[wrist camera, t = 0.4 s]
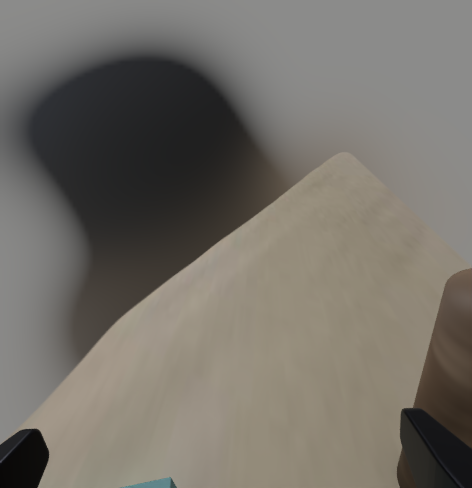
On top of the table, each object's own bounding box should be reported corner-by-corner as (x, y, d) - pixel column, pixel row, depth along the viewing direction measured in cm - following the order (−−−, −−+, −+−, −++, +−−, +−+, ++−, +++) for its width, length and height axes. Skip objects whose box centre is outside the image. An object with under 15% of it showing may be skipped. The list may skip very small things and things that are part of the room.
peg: (491, 518, 18) (628, 332, 10) (421, 533, 18) (502, 357, 10) (443, 443, 21) (515, 259, 13) (384, 455, 21) (421, 278, 13)
